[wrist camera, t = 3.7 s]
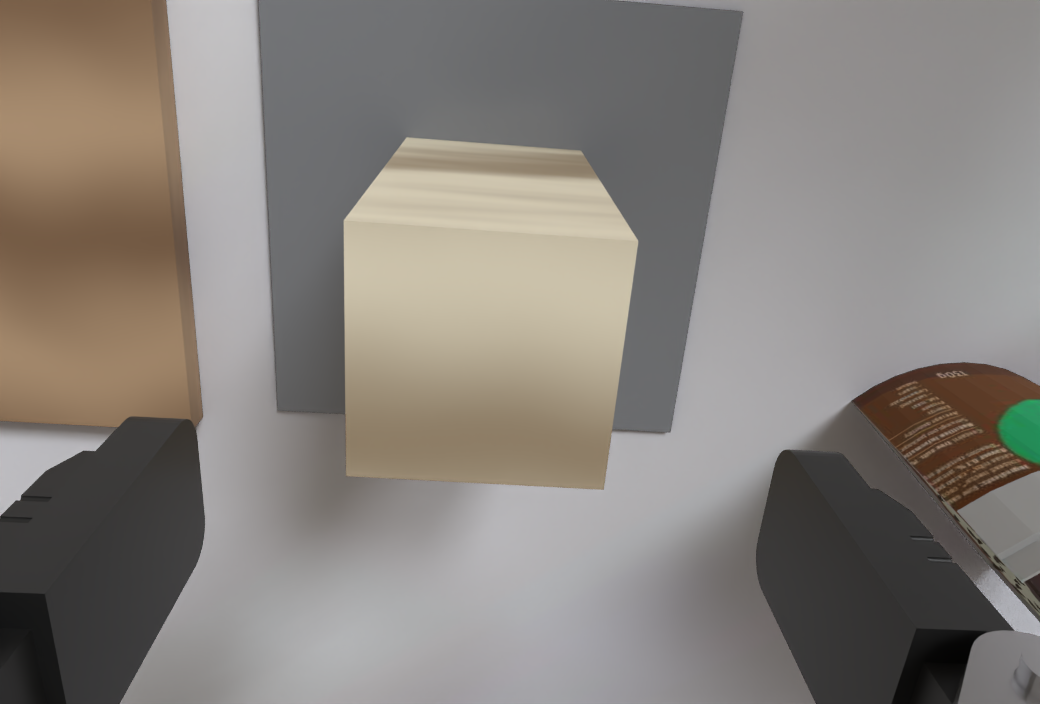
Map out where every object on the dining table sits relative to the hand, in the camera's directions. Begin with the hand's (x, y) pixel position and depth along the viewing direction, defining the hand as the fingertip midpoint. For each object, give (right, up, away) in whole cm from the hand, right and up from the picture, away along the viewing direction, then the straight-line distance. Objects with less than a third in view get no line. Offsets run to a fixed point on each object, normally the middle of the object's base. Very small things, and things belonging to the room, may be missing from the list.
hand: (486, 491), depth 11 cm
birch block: (0, +6, +13) cm, 14 cm away
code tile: (0, +6, +13) cm, 14 cm away
